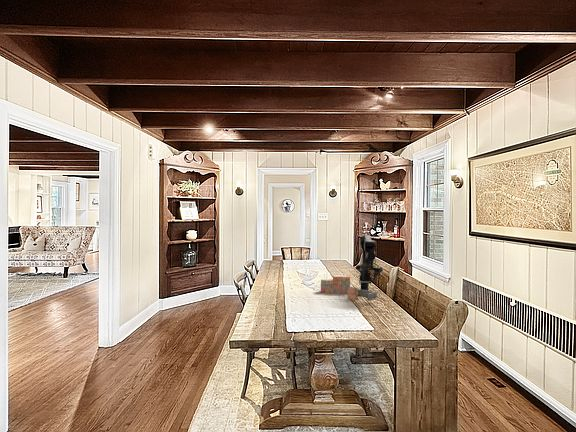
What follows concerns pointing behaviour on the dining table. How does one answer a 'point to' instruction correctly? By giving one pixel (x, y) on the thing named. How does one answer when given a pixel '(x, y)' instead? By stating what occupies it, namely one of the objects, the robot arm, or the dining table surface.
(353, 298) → the terracotta block
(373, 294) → the open-fronted box
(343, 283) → the stack of blocks
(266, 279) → the dining table surface
